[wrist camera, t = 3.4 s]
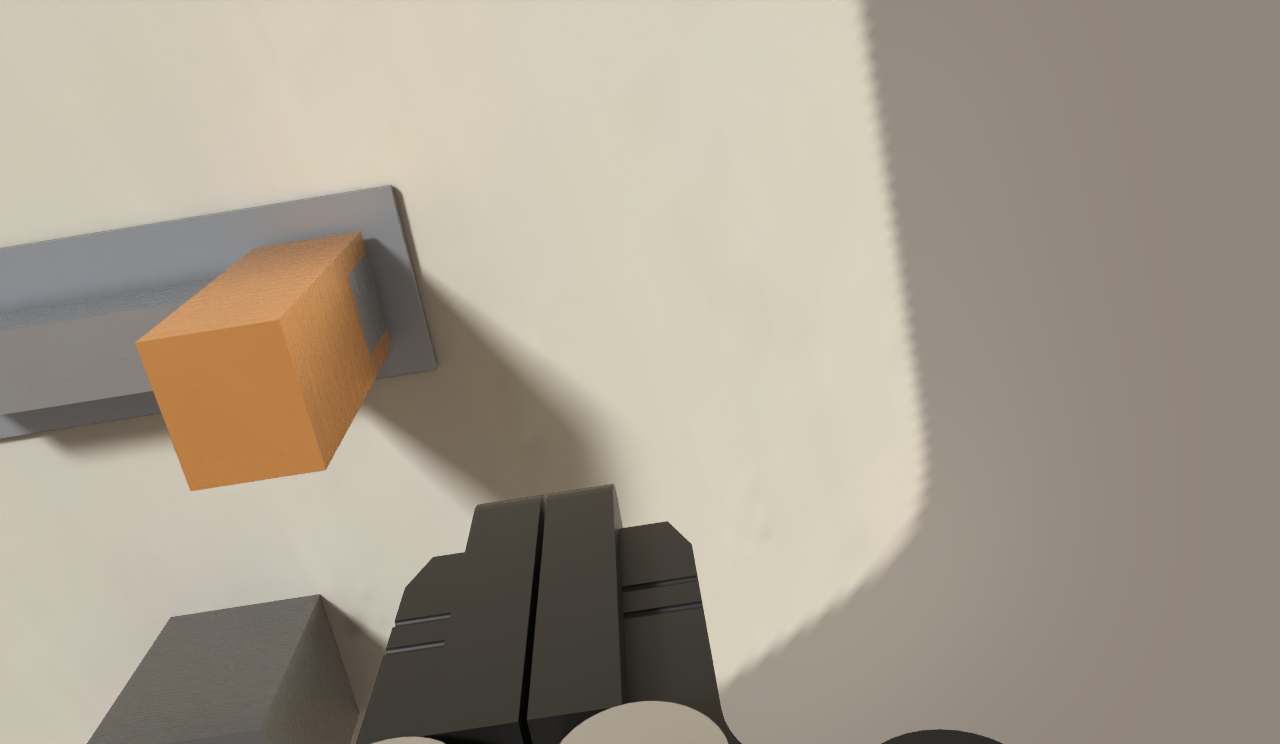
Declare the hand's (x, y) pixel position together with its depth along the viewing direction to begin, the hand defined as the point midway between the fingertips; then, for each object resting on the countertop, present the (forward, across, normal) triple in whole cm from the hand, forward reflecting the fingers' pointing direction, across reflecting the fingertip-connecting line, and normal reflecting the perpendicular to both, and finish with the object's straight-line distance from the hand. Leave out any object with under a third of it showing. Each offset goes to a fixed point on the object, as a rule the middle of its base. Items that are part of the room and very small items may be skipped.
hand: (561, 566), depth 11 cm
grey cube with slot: (+13, +10, +10) cm, 19 cm away
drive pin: (+12, +10, 0) cm, 15 cm away
